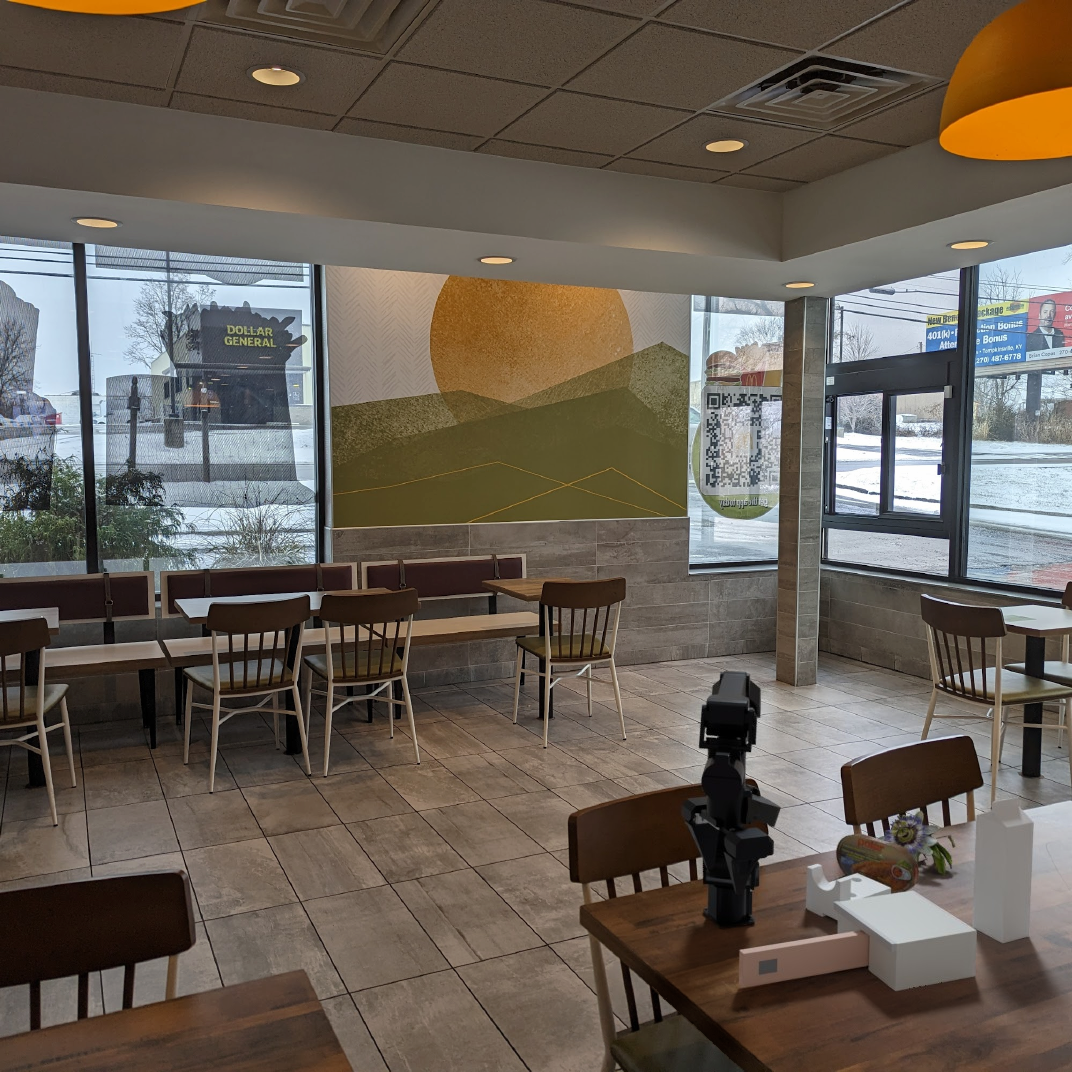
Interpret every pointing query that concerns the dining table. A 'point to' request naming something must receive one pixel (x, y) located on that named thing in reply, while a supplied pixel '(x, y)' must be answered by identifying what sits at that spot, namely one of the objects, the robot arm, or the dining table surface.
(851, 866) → the tin
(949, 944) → the white box
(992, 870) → the milk
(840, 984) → the dining table surface
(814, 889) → the bracket
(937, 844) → the passion flower
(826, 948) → the pink plank
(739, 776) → the robot arm
